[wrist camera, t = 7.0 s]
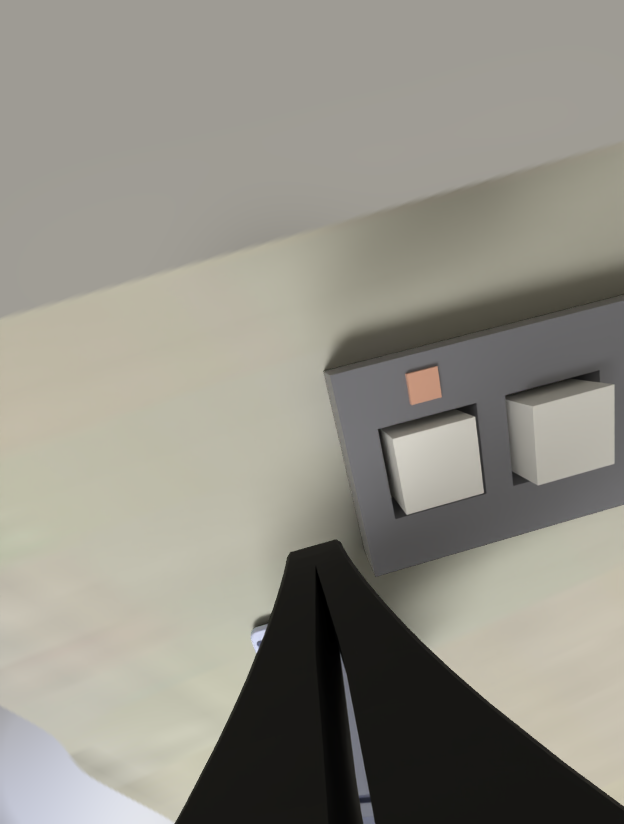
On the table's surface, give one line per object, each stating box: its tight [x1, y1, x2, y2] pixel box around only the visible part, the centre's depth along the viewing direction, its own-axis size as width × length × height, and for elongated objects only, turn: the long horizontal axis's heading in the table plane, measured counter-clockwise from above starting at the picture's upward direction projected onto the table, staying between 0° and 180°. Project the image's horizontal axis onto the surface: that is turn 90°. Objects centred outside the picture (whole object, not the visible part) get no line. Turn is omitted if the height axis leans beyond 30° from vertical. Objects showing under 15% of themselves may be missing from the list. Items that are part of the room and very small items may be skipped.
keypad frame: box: [323, 295, 624, 577], centre depth 18 cm, size 12×23×2 cm, turn 103°
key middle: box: [505, 379, 615, 485], centre depth 17 cm, size 4×4×2 cm
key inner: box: [378, 409, 484, 515], centre depth 18 cm, size 4×4×2 cm
